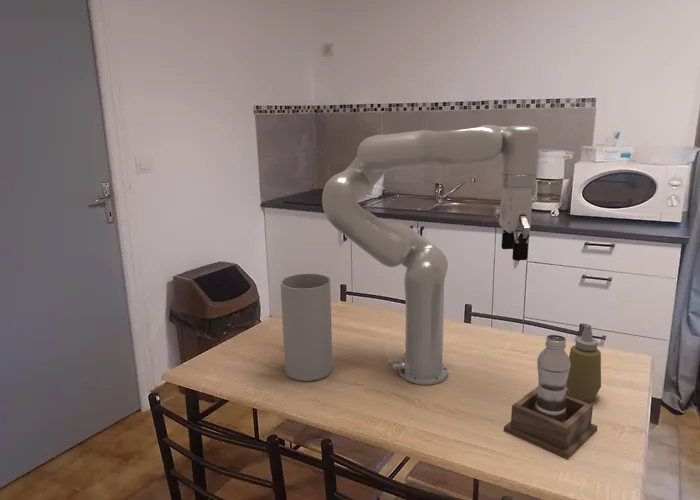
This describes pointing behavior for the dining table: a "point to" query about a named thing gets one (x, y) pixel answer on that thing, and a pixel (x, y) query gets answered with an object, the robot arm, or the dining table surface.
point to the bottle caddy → (552, 425)
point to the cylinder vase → (307, 326)
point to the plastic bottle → (553, 378)
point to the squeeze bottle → (584, 368)
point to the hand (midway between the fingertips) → (513, 254)
